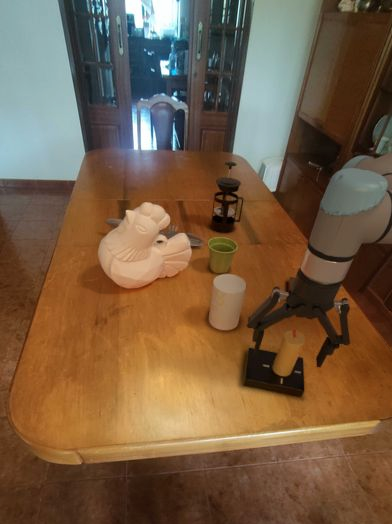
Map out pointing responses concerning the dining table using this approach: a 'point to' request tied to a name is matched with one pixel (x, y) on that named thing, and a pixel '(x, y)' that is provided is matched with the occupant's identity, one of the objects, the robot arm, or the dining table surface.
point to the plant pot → (221, 253)
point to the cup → (226, 301)
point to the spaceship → (192, 238)
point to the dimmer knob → (288, 353)
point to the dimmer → (272, 374)
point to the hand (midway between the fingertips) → (286, 357)
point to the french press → (226, 204)
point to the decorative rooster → (143, 248)
